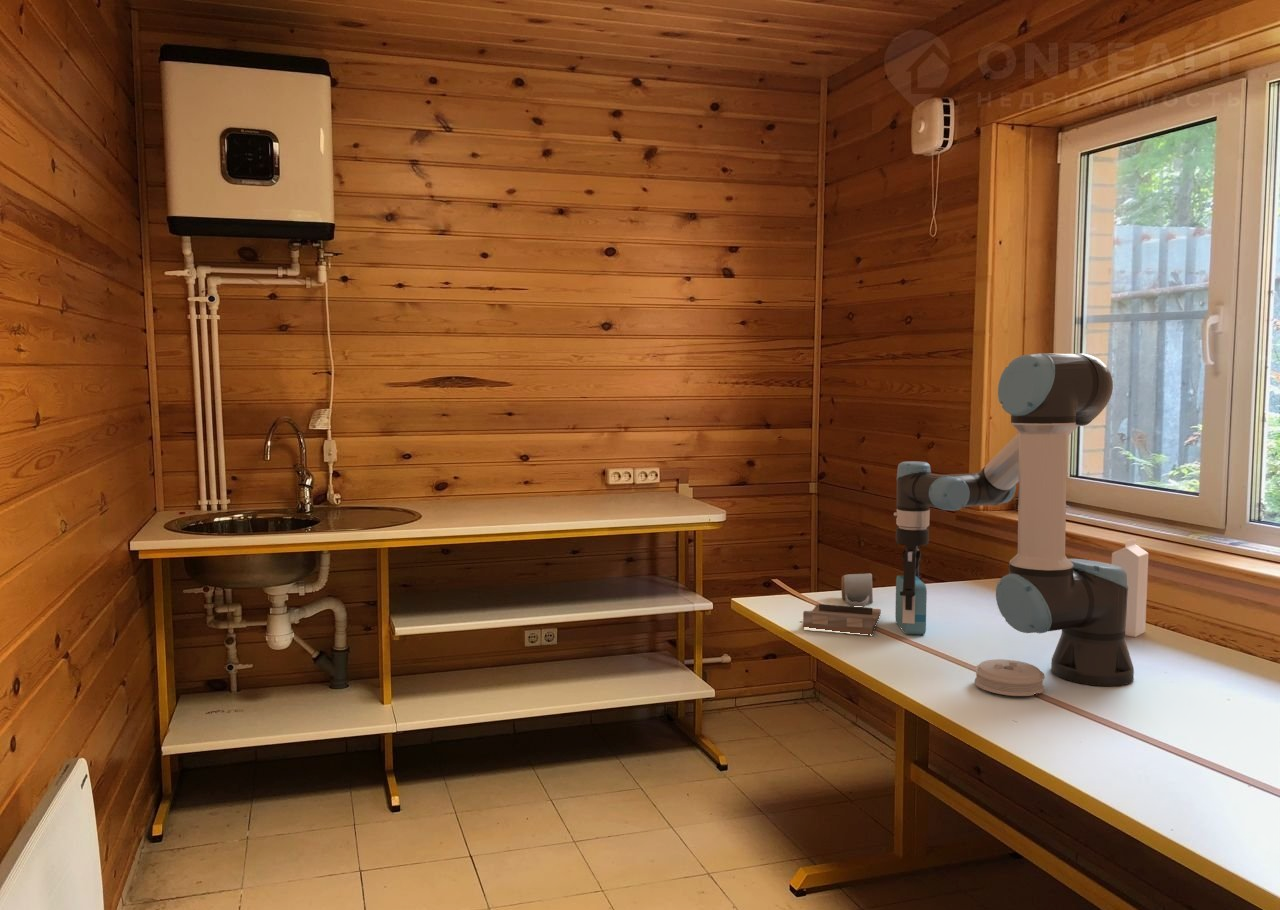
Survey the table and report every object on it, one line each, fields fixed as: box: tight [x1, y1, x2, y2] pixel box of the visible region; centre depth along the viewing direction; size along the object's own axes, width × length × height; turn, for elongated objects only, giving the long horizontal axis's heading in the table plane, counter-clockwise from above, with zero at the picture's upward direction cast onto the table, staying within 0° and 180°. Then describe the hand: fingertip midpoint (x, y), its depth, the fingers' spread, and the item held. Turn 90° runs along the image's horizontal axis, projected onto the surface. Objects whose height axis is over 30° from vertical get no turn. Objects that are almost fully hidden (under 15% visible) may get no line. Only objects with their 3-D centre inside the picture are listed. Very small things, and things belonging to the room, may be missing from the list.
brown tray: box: [802, 603, 882, 636], centre depth 235 cm, size 20×16×4 cm
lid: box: [974, 658, 1046, 697], centre depth 187 cm, size 13×13×5 cm
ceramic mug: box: [840, 573, 874, 607], centre depth 254 cm, size 11×8×8 cm
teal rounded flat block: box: [894, 574, 928, 635], centre depth 228 cm, size 12×4×12 cm, turn 177°
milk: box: [1111, 537, 1149, 638], centre depth 224 cm, size 6×6×22 cm
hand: (910, 615), depth 228 cm, fingers closed on teal rounded flat block, 13 cm apart
